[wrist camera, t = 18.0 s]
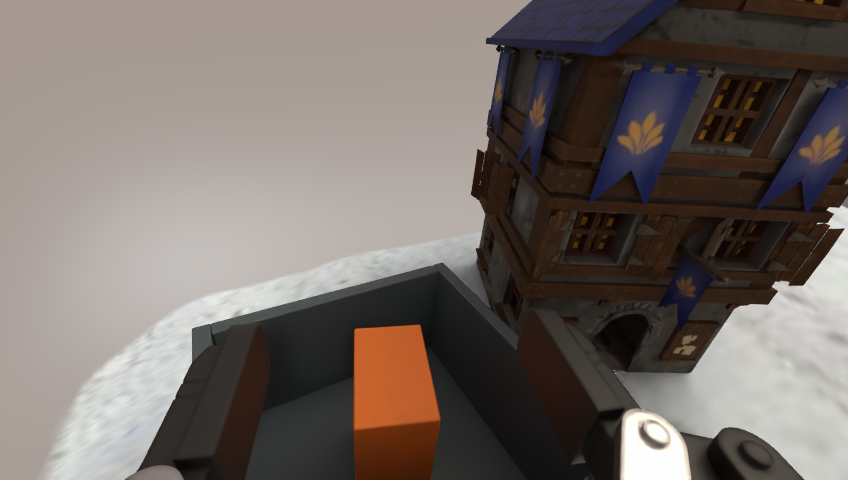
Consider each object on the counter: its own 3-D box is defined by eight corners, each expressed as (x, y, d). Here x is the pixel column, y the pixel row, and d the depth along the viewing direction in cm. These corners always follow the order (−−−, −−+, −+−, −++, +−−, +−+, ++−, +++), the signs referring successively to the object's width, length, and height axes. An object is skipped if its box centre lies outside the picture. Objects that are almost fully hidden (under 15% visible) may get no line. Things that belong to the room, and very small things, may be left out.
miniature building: (485, 427, 22) (732, -465, 7) (448, 250, 40) (495, -104, 25) (763, 426, 24) (1454, -305, 9) (606, 256, 42) (740, -74, 27)
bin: (432, 343, 28) (442, 262, 24) (585, 549, 17) (649, 462, 13) (224, 423, 21) (191, 328, 17) (262, 845, 10) (196, 847, 6)
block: (411, 422, 21) (420, 323, 17) (424, 519, 17) (441, 419, 13) (357, 428, 21) (354, 327, 17) (357, 530, 16) (352, 429, 12)
